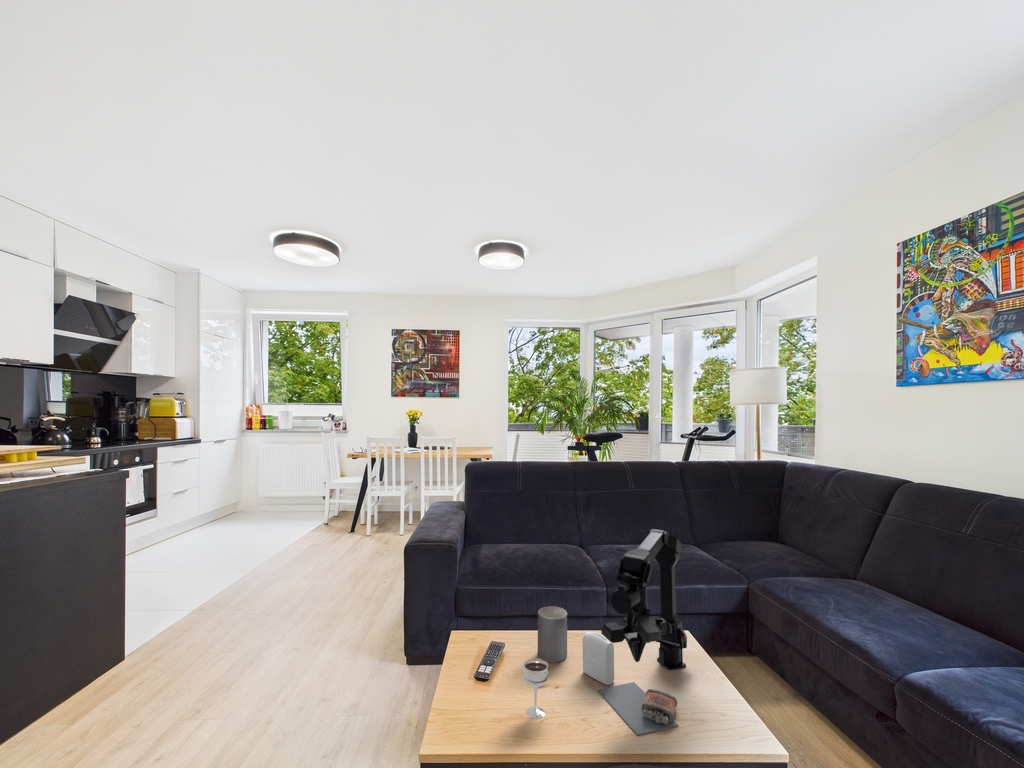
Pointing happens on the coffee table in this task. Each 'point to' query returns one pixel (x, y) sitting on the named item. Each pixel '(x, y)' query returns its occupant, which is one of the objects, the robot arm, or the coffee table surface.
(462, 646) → the coffee table surface
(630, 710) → the rubber mat
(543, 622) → the pillar candle
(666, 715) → the lighter
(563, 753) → the coffee table surface
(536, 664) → the wineglass
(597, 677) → the photo printer
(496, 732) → the coffee table surface
